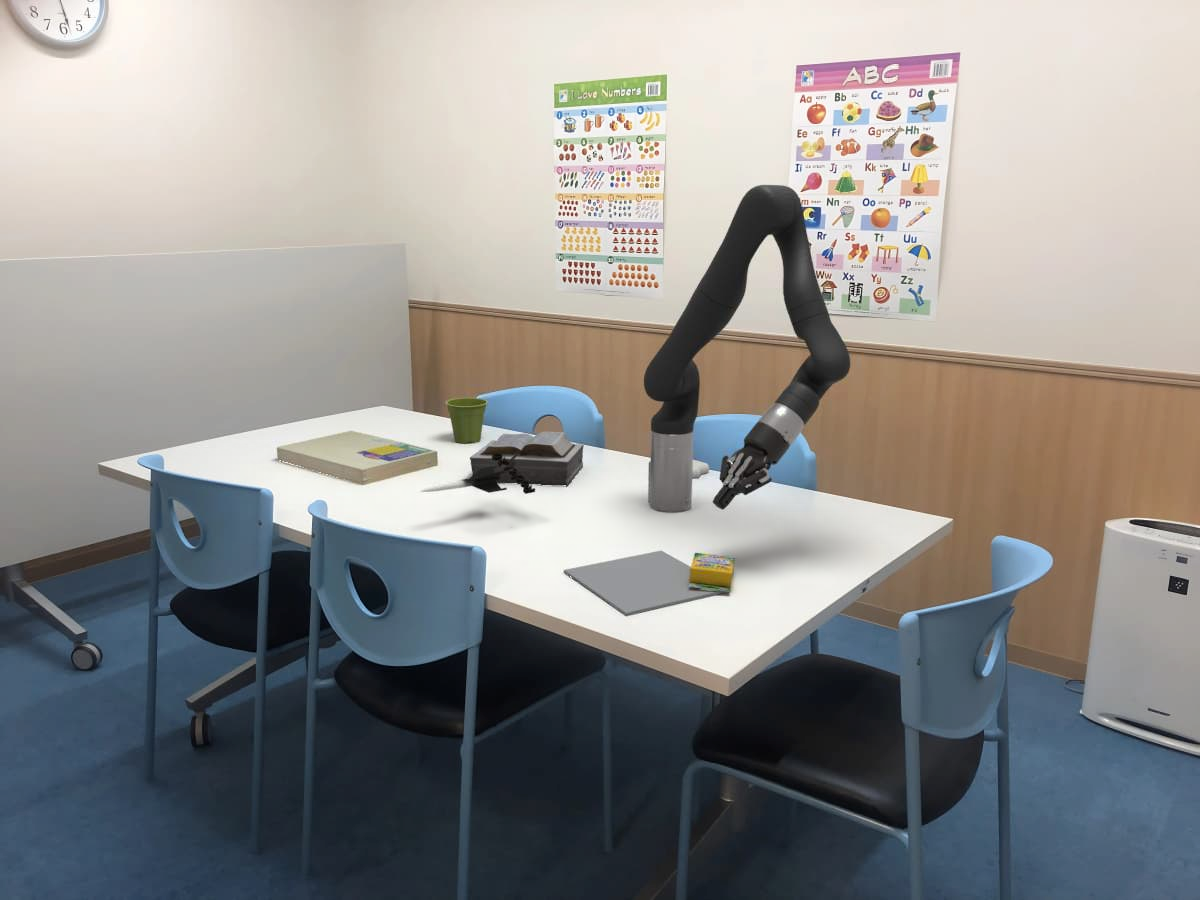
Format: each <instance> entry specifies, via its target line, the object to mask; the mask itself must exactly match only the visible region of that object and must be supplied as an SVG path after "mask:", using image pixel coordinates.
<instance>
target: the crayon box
mask: <svg viewBox="0 0 1200 900" xmlns="http://www.w3.org/2000/svg"><path fill="white" fill-rule="evenodd" d="M690 567H691V569H690V579H689V583H690V584H689V587H694V588H702V589H710V590H718V591H726V593H730V592H731V591H730V589H731V588H732V581H733V575H734V568H735V557H734V556H725V555H717V554H709V553H708V554H707V553H700V552H695V553H694V555H693V559H692V563H691V566H690ZM701 586H706V587H701ZM707 586H709V587H714V588H707ZM716 588H719V589H716Z"/></svg>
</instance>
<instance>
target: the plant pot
mask: <svg viewBox="0 0 1200 900" xmlns="http://www.w3.org/2000/svg"><path fill="white" fill-rule="evenodd" d="M488 403H489V401H488V400H487V399H485V398H477V397H457V398H452V399H451V398H450V399H448V400H446V401H445V403H444V404H445V405H446V406H447V410H448V413H449V418H450V422H451V427H452V432H453V439H454V441H455V442H456V443H458V444H469V443H473V444H475V443H479V442H480V441H481V439H482V431H483V424H484V419H485V418H484V417H485V412H486V407H487V404H488Z"/></svg>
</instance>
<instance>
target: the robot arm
mask: <svg viewBox="0 0 1200 900" xmlns="http://www.w3.org/2000/svg"><path fill="white" fill-rule="evenodd" d="M805 219H806V218H805V216H804V209H803V206H802V202H801V199H800V197H799V195H798V193H797V192H796V191H795V190H794V189H793V188H791V187H789V186H787V185H782V184H760V185H756V186H753V187H751V188H750V189H749V190H748V191H747V192H746V193H744V195H743V197H742V198H741V200H740V202H739V203H738V206H737V209H736V211H735V213H734V216H733V218H732V219H731V223H730V225H729V227H728V229H727V231H726V233H725V236H724V238H723V240H722V242H721V244H720V246H719V248H718V249H717V251H716V253H715V255H714V257H713V258H712V259H711V262H710V263H709V266H708V268H707V269H706V271H705V273H704V275H703V276H702V278H701V279H700V281H699V283H698V284H697V286H696V287H695V289H694V291H693V293H692V294H691V296H690V299H689V301H688V303H687V305H686V306H685V308H684V310H683V312H682V314H681V315H680V317H679V318H678V320H677V322H676V323H675V325H674V327H673V329H672V331H671V333H670V334H669V336H668V337H667V338H666V340H665V341H664V343H663V344H662V346H661V347H660V349H658V351H657V353H656V354H655V355H654V356H653V358H652V360H651V361H650V362H649V364H648V365H647V367H646V369H645V372H644V375H643V387H644V391H645V393H646V395H647V396H648V397H649V399H651V400H653V401H656V402H663V403H662V405H661V407H660V408H659V410H658V411H657V412H656V413H655V414H653V416H652V417H651V421H650V461H649V462H648V477H647V479H648V485H647V488H648V490H647V491H648V493H647V495H648V498H647V503H649V506H650V508H651V509H654V510H656V511H660V512H667V513H669V512H671V513H674V512H675V513H676V512H684V511H687V510H689V509H691V508H692V498H693V497H692V495H693V478H692V469H693V460H694V426H695V422H696V419H697V417H698V413H699V401H700V399H699V398H700V386H701V384H700V383H701V381H700V377H701V376H700V372H699V368H698V365H697V364H696V363H695V360H693V359H694V357H696V356H697V354H698V353H699V352H700V351H701V350H702V349H703V348H705V346H706V345H708V344H709V343H710V342H711V341H713V339H714V338H715V337H717V336H718V335H719V334H720V333H721V332H722V331H723V330H724V329H725V328H726V326H727V325H728V324H729V323H730V321H731V320H732V319H733V317H734V315H735V313H736V312H737V310H738V308H739V306H740V305H741V303H742V302H743V299H744V297H745V294H746V291H747V283H748V274H749V273H748V272H749V268H750V265H751V261H752V259H753V258H754V256H755V254H756V253H757V251H758V249H759V248H760V246H761V245H762V243H763V242H764V240H765V239H766V238H767V237H768V236H772V237H773V239H774V241H775V242H776V245H777V247H778V249H779V252H780V256H781V260H782V272H783V273H782V274H783V275H782V276H783V278H782V293H783V294H782V295H783V300H784V305H785V308H786V312H787V313H788V317H789V319H790V323H791V327H792V329H793V332H794V333H795V336H796V337H797V338H798V339H799V340H801V341H804V343H805V345H806V347H807V349H808V351H809V354H810V355H808V357H807V358H805V360H804V361H803V363H802V364H801V365H800V366H799V368H798V369H797V371H796V373H795V374H794V375H793V378H792V380H791V381H790V383H789V384H788V386H787V387H785V389H784V390H783V391H782V392H781V394H780V395H779V396H778V397H777V398H776V400H775V401H774V403H772V405H770V406H769V408H767V410H766V411H765V412H764V413H763V414H762V415H761V417H760V418H759V419H758V420H757V421H756V423H755V424H754V426H753V427H752V428H751V430H749V432H748V433H747V434H746V436H745V437H744V438H743V447H742V448H741V449H740V450H738V451H737V452H736V454H735V456H732V457H729V456H728V455H724V456H723V457H722V458H721V459H722V460H721V465H720V466H721V467H720V471H719V472H720V473H719V480H720V482H721V484H722V487H721V488H720V489H719V491H718V492H717V493H716V495H715V496H714V498H713V500H712V504H714V506H715V507H716V508H718V509H720V510H725V509H726V508H727V507H728V506H729V505H730V503H731V502H732V501H733V500H734V499H735V497H736V496H739V495H740V494H743V495H744V496H747V495H749V494H751V493H753V492H754V491H756V490H758V489H760V488H762V487H764V486H766V485H768V484H770V483H771V482H772V481H773V479H772V477H771V476H770V475H769V471H770V469H771V467H772V465H773V466H775V465H777V464H778V462H779V461H780V460H781V459H782V458H783V456H784V455H785V454H786V452H787V451H788V450H789V449H790V447H791V446H792V445H793V444H794V442H795V441H796V440H797V438H798V437H799V436H800V433H801V432H802V430H803V428H804V427H805V426H806V424H807V423H808V422H809V421H810V419H811V418H812V416H814V414H815V413H816V411H817V409H818V408H819V406H820V402H821V400H822V398H823V397H824V395H825V394H826V393H827V391H828V390H829V389H830V388H831V387H832V386H833V385H834V384H836V383H838V382H840V381H842V380H843V379H845V377H847V375H848V374H849V372H850V369H851V358H850V357H851V356H850V353H849V350H848V348H847V345H846V343H845V342H844V340H843V338H842V336H841V335H840V333H839V331H838V330H837V328H836V327H835V325H834V324H833V322H832V320H831V317H830V314H829V310H828V308H827V305H826V301H825V300H824V299H825V298H824V296H823V294H822V291H821V288H820V285H819V282H818V279H817V275H816V271H815V267H814V262H813V258H812V252H811V246H810V242H809V237H808V231H807V226H806V221H805Z"/></svg>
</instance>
